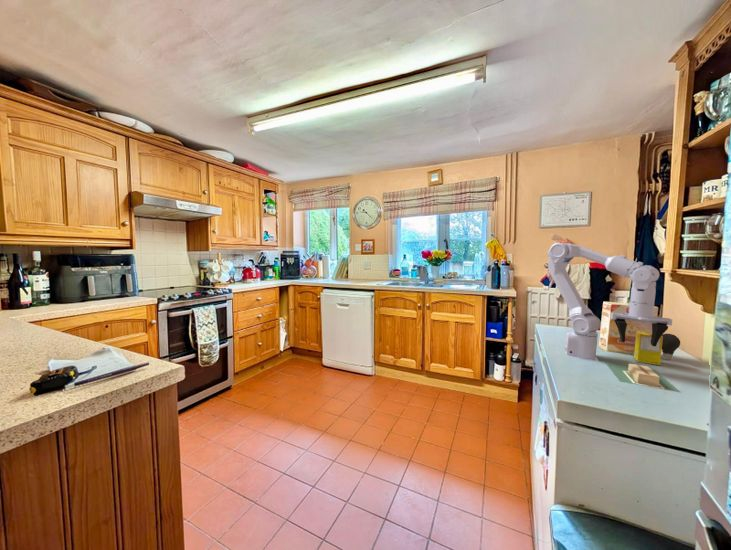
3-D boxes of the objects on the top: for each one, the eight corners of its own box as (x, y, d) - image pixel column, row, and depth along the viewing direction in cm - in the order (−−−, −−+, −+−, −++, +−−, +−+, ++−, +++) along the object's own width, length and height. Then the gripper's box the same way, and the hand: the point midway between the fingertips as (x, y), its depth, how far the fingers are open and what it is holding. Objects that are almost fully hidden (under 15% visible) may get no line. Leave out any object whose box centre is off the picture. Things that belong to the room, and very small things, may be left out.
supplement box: (655, 362, 104) (658, 332, 103) (660, 367, 99) (663, 336, 98) (633, 358, 107) (636, 330, 107) (636, 363, 103) (640, 333, 102)
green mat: (619, 383, 86) (619, 380, 86) (604, 363, 102) (604, 361, 102) (680, 394, 80) (680, 391, 80) (654, 371, 96) (654, 369, 96)
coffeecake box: (606, 352, 114) (611, 303, 112) (597, 347, 120) (602, 301, 119) (653, 357, 109) (659, 306, 108) (642, 351, 116) (647, 303, 115)
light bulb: (680, 364, 103) (683, 337, 102) (658, 361, 106) (661, 334, 105) (674, 359, 108) (677, 333, 107) (654, 356, 110) (656, 330, 110)
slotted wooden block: (627, 372, 93) (628, 363, 92) (646, 375, 91) (647, 366, 90) (637, 383, 85) (638, 373, 85) (658, 387, 83) (659, 376, 82)
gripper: (616, 301, 94) (612, 342, 95) (678, 307, 87) (673, 351, 88) (610, 299, 100) (607, 337, 101) (668, 303, 93) (663, 344, 94)
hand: (637, 343), depth 95 cm, fingers open, 7 cm apart
